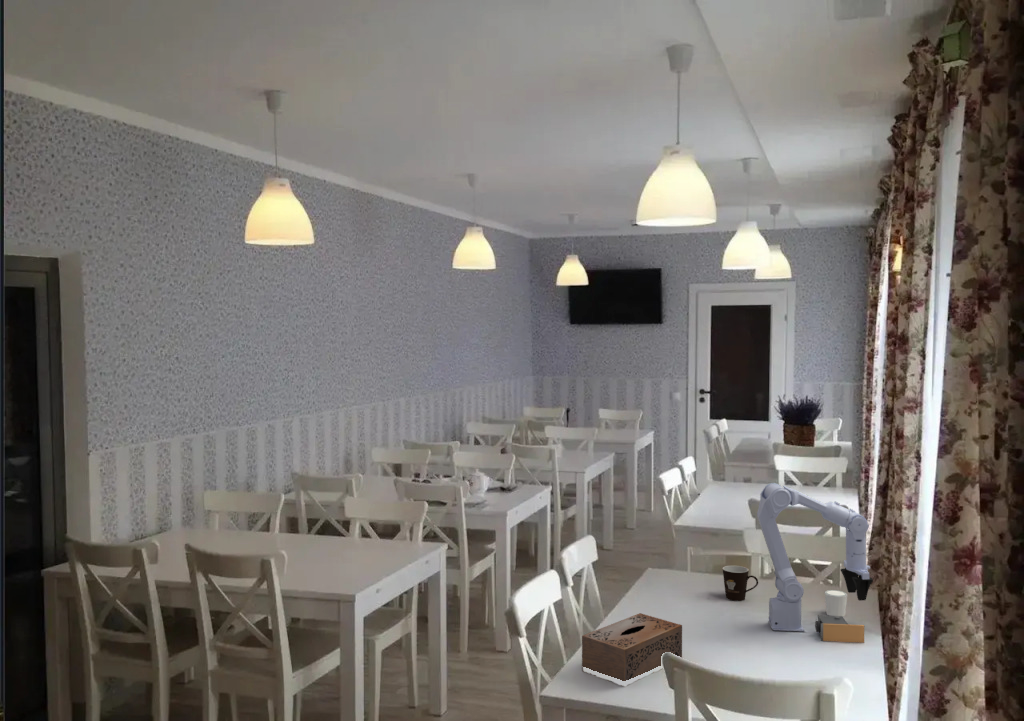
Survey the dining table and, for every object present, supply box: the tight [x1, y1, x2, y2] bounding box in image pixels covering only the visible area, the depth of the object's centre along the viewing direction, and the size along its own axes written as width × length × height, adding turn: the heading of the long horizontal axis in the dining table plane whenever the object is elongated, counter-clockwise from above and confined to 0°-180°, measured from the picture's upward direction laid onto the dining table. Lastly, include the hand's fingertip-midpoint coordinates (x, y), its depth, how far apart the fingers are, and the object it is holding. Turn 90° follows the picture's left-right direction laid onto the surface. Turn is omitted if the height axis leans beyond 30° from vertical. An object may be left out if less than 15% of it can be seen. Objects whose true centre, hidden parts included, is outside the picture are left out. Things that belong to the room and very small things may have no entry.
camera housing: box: [814, 614, 848, 637], centre depth 259 cm, size 8×7×6 cm
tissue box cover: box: [581, 613, 683, 681], centre depth 238 cm, size 26×14×10 cm, turn 135°
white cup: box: [824, 589, 848, 618], centre depth 278 cm, size 7×7×7 cm
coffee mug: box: [722, 565, 759, 602], centre depth 294 cm, size 12×9×10 cm
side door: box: [820, 623, 865, 644], centre depth 255 cm, size 12×1×5 cm, turn 82°
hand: (856, 596), depth 266 cm, fingers open, 7 cm apart
